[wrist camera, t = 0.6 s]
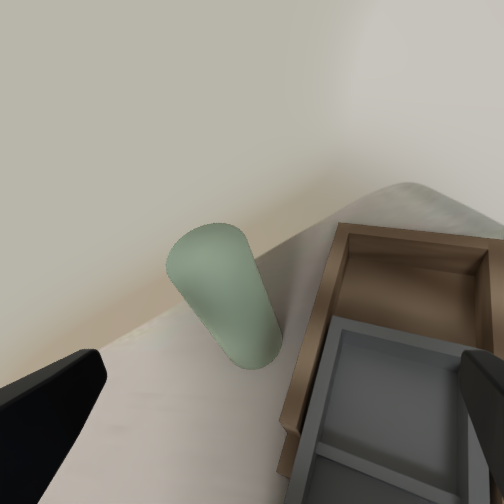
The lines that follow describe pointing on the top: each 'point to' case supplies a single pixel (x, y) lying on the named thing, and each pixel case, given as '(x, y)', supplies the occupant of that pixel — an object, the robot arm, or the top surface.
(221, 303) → the pale green cylinder
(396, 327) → the dock
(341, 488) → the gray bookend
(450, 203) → the top surface
